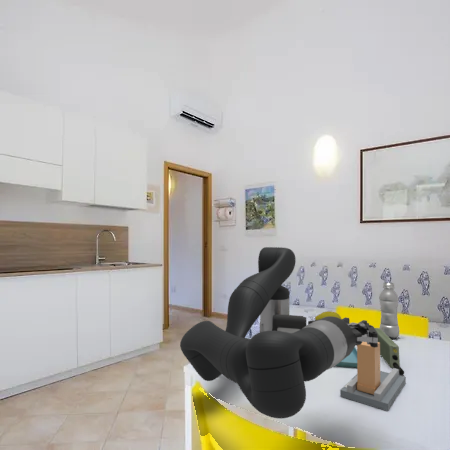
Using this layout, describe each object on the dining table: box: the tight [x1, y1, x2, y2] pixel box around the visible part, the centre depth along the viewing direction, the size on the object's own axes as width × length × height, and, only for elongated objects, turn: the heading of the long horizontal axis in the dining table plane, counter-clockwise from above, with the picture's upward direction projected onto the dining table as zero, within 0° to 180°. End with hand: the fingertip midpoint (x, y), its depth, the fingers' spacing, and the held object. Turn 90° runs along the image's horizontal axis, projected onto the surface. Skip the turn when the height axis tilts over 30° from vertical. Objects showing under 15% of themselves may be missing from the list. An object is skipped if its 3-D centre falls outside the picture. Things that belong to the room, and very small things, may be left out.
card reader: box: [272, 314, 307, 333], centre depth 90 cm, size 9×4×15 cm, turn 75°
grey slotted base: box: [339, 368, 407, 412], centre depth 80 cm, size 18×10×3 cm, turn 141°
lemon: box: [314, 310, 342, 320], centre depth 130 cm, size 11×8×8 cm
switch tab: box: [356, 342, 381, 395], centre depth 76 cm, size 5×4×10 cm
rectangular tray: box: [335, 346, 357, 369], centre depth 106 cm, size 26×9×2 cm, turn 170°
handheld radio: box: [374, 327, 405, 376], centre depth 100 cm, size 7×3×25 cm
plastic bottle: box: [378, 282, 400, 339], centre depth 124 cm, size 6×7×20 cm
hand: (356, 323), depth 70 cm, fingers open, 3 cm apart
